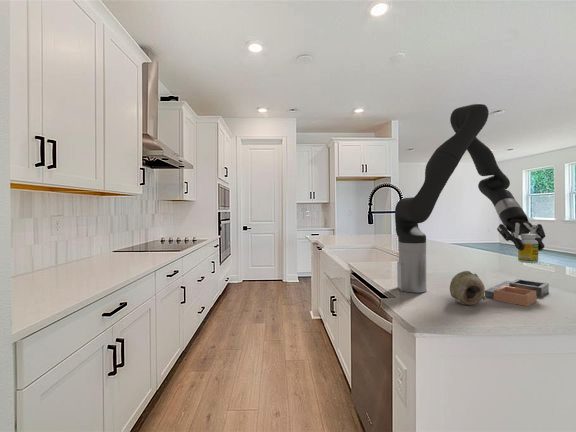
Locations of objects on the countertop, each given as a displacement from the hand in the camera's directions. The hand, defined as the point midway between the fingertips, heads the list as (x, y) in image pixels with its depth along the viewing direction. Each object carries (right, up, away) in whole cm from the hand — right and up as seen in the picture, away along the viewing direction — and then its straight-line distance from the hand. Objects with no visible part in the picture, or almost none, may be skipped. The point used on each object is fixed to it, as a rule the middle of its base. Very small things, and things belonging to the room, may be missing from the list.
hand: (531, 249), depth 99 cm
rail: (-5, -15, -1) cm, 16 cm away
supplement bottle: (0, -5, +2) cm, 5 cm away
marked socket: (-11, -15, -7) cm, 20 cm away
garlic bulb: (-27, -16, -9) cm, 33 cm away
